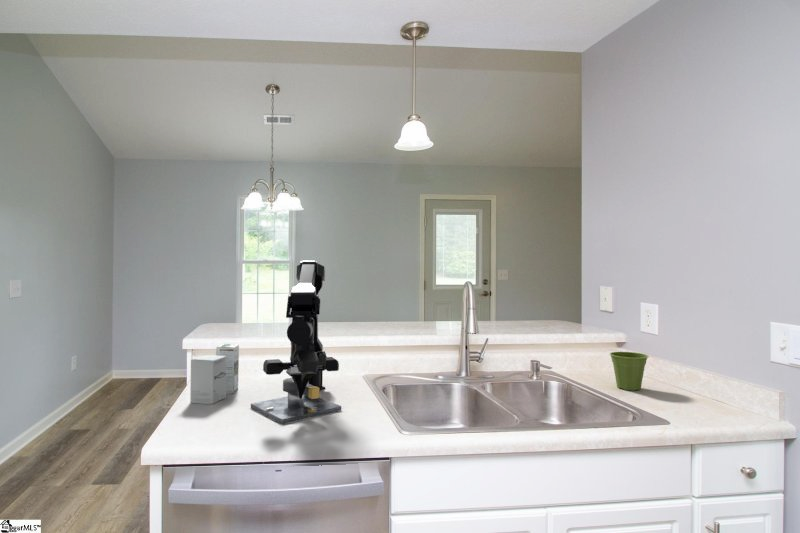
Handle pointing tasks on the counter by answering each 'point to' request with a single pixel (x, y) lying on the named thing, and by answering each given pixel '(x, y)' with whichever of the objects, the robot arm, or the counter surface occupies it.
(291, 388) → the handle
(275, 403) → the base
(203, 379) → the supplement box
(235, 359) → the syrup box
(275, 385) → the counter surface
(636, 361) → the plant pot
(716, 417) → the counter surface
